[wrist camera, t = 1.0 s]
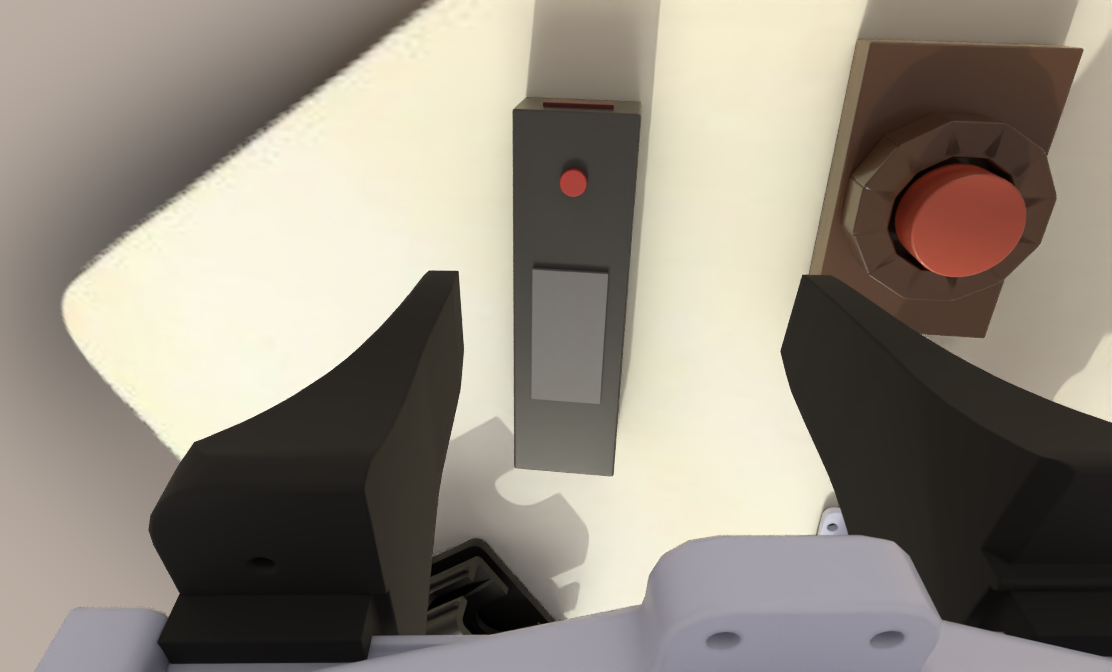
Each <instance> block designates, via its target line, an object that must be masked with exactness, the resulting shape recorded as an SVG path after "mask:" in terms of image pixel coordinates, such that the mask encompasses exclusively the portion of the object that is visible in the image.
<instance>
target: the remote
mask: <svg viewBox="0 0 1112 672" xmlns="http://www.w3.org/2000/svg"><path fill="white" fill-rule="evenodd" d="M640 125H641V103H640V102H634V101H608V100H583V99H558V98H533V97H527V98H525V99H524V100H523V101H522V102H521V103H520V104H518V105H517V106H516V107H515V108H514V109H513V302H514V467H515V468H520V469H531V470H543V471H555V472H566V473H578V474H590V475H601V476H613V475H614V462H615V449H616V436H617V423H618V410H619V397H620V384H621V371H622V358H623V345H624V332H625V319H626V306H627V293H628V281H629V268H630V255H631V242H632V229H633V216H634V203H635V190H636V177H637V164H638V151H639V138H640Z"/></svg>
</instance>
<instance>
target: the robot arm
mask: <svg viewBox="0 0 1112 672" xmlns="http://www.w3.org/2000/svg"><path fill="white" fill-rule="evenodd" d="M780 352H781V356H782V360H783V364H784V368H785V372H786V375H787V379H788V382H789V386H790V389H791V392H792V394H793V397H794V399H795V402H796V404H797V406H798V408H799V411H800V413H801V415H802V418H803V420H804V422H805V424H806V427H807V429H808V431H809V433H810V435H811V438H812V440H813V442H814V444H815V446H816V449H817V451H818V453H819V455H820V458H821V460H822V462H823V464H824V466H825V469H826V471H827V473H828V476H829V478H830V481H831V483H832V486H833V488H834V491H835V494H836V497H837V500H838V503H839V507H840V508H837V507H832V508H828V509H826V510H825V511H824V512H823V514H822V518H821V522H820V526H819V530H818V533H817V535H718V536H712V537H706V538H699V539H693V540H689V541H687V542H685V543H683V544H681V545H679V546H677V547H676V548H674V549H672V550H670V551H668V552H666V553H665V554H664V555H662V556H661V558H660V559H659V561H658V562H657V564H656V565H655V567H654V568H653V570H652V572H651V573H650V575H649V578H648V583H647V589H646V594H645V597H644V600H643V602H642V604H640V605H635V606H630V607H625V608H621V609H616V610H611V611H606V612H601V613H596V614H591V615H586V616H581V617H576V618H571V619H566V620H561V621H556V622H551V623H546V624H541V625H536V626H532V627H527V628H522V629H517V630H512V631H507V632H502V633H497V634H492V635H426V622H427V610H428V599H429V587H430V575H431V565H432V554H433V544H434V534H435V524H436V515H437V505H438V496H439V489H440V483H441V477H442V472H443V467H444V462H445V458H446V453H447V449H448V444H449V440H450V435H451V431H452V426H453V422H454V417H455V413H456V408H457V403H458V399H459V394H460V389H461V378H462V367H463V355H464V343H463V329H462V314H461V300H460V286H459V272H458V271H428V272H427V273H426V274H425V275H424V276H423V277H422V278H421V280H420V281H419V282H418V284H417V285H416V286H415V287H414V289H413V290H412V291H411V292H410V294H409V295H408V296H407V297H406V298H405V300H404V301H403V302H402V303H401V304H400V306H399V307H398V308H397V309H396V310H395V311H394V312H393V313H392V315H391V316H390V317H389V318H388V319H387V320H386V321H385V322H384V323H383V324H382V326H381V327H380V328H379V329H378V330H377V331H376V332H375V333H374V334H372V335H371V336H370V337H369V338H368V339H367V340H366V341H365V342H364V343H363V344H362V345H361V346H360V347H359V348H358V349H357V350H356V351H355V352H354V353H352V354H351V355H350V356H349V357H348V358H347V359H345V360H344V361H343V362H342V363H340V364H339V365H338V366H336V367H335V368H334V369H333V370H331V371H330V372H328V373H327V374H326V375H324V376H323V377H321V378H320V379H318V380H317V381H315V382H313V383H312V384H310V385H309V386H307V387H306V388H304V389H303V390H301V391H300V392H298V393H297V394H295V395H293V396H292V397H290V398H288V399H287V400H285V401H283V402H281V403H279V404H278V405H276V406H274V407H272V408H270V409H268V410H266V411H264V412H262V413H260V414H258V415H256V416H255V417H252V418H250V419H248V420H246V421H244V422H242V423H240V424H237V425H235V426H233V427H230V428H228V429H225V430H223V431H221V432H218V433H216V434H214V435H211V436H209V437H207V438H204V439H201V440H199V441H196V442H194V443H193V445H192V446H191V448H190V449H189V451H188V452H187V454H186V455H185V456H184V458H183V459H182V461H181V462H180V464H179V465H178V467H177V469H176V470H175V472H174V474H173V476H172V477H171V479H170V481H169V483H168V485H167V487H166V488H165V490H164V492H163V494H162V496H161V497H160V499H159V501H158V503H157V505H156V506H155V508H154V510H153V512H152V514H151V516H150V524H149V533H150V536H151V539H152V542H153V545H154V547H155V549H156V551H157V552H158V554H159V556H160V558H161V560H162V561H163V563H164V565H165V567H166V569H167V571H168V573H169V575H170V576H171V578H172V580H173V582H174V584H175V586H176V588H177V589H178V591H179V593H180V594H179V596H178V599H177V601H176V603H175V605H174V607H173V609H172V611H171V614H170V616H168V615H167V614H166V613H164V612H162V611H159V610H157V609H154V608H147V607H78V608H75V609H72V610H71V611H70V612H69V613H68V615H67V617H66V618H65V620H64V622H63V624H62V625H61V627H60V629H59V630H58V632H57V634H56V635H55V637H54V639H53V640H52V642H51V644H50V646H49V647H48V649H47V651H46V652H45V654H44V656H43V658H42V659H41V661H40V662H39V664H38V666H37V668H36V669H35V671H34V672H1112V423H1111V422H1108V421H1105V420H1102V419H1099V418H1096V417H1094V416H1091V415H1088V414H1085V413H1082V412H1079V411H1076V410H1074V409H1071V408H1068V407H1066V406H1063V405H1060V404H1058V403H1055V402H1053V401H1050V400H1048V399H1045V398H1043V397H1041V396H1038V395H1036V394H1034V393H1031V392H1029V391H1026V390H1024V389H1022V388H1019V387H1017V386H1015V385H1013V384H1011V383H1008V382H1006V381H1004V380H1002V379H1000V378H998V377H996V376H994V375H992V374H990V373H988V372H986V371H984V370H982V369H980V368H978V367H976V366H974V365H972V364H970V363H968V362H966V361H965V360H963V359H961V358H959V357H957V356H956V355H954V354H952V353H950V352H949V351H947V350H945V349H944V348H942V347H940V346H939V345H937V344H936V343H934V342H932V341H931V340H929V339H927V338H926V337H924V336H923V335H921V334H919V333H918V332H916V331H915V330H913V329H912V328H910V327H909V326H907V325H906V324H904V323H903V322H901V321H900V320H898V319H897V318H895V317H894V316H892V315H891V314H889V313H888V312H887V311H885V310H884V309H882V308H881V307H879V306H878V305H876V304H875V303H874V302H872V301H871V300H869V299H868V298H866V297H865V296H863V295H862V294H861V293H859V292H858V291H856V290H855V289H853V288H852V287H850V286H849V285H847V284H846V283H844V282H842V281H841V280H839V279H837V278H836V277H834V276H832V275H802V278H801V281H800V285H799V288H798V292H797V295H796V299H795V302H794V306H793V309H792V313H791V316H790V320H789V323H788V327H787V330H786V334H785V337H784V341H783V344H782V348H781V351H780ZM832 523H834V525H833V526H828V525H829V524H832Z"/></svg>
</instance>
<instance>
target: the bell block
mask: <svg viewBox="0 0 1112 672" xmlns="http://www.w3.org/2000/svg"><path fill="white" fill-rule="evenodd" d="M1082 53H1083V49H1082V48H1077V47H1069V46H1061V45H1041V44H1009V43H977V42H945V41H913V40H881V39H858V40H857V43H856V48H855V53H854V58H853V63H852V67H851V72H850V77H849V82H848V87H847V92H846V97H845V102H844V107H843V111H842V116H841V121H840V126H839V131H838V136H837V141H836V146H835V150H834V155H833V160H832V165H831V170H830V175H829V180H828V185H827V190H826V194H825V199H824V204H823V209H822V214H821V219H820V224H819V229H818V233H817V238H816V243H815V248H814V253H813V258H812V263H811V268H810V273H809V275H832V276H834V277H836V278H837V279H839V280H841V281H842V282H844V283H846V284H847V285H849V286H850V287H852V288H853V289H855V290H856V291H858V292H859V293H861V294H862V295H863V296H865V297H866V298H868V299H869V300H871V301H872V302H874V303H875V304H876V305H878V306H879V307H881V308H882V309H884V310H885V311H887V312H888V313H889V314H891V315H892V316H894V317H895V318H897V319H898V320H900V321H901V322H903V323H904V324H906V325H907V326H909V327H910V328H912V329H913V330H915V331H916V332H918V333H919V334H929V335H945V336H960V337H975V338H984V337H985V335H986V332H987V329H988V326H989V323H990V320H991V317H992V314H993V311H994V309H995V306H996V303H997V300H998V297H999V294H1000V291H1001V288H1002V285H1003V282H1004V279H1005V278H1006V277H1007V276H1008V275H1009V274H1010V273H1011V272H1012V271H1013V270H1014V269H1015V268H1017V267H1018V266H1019V265H1020V264H1021V263H1022V262H1023V261H1024V260H1025V259H1026V258H1027V257H1028V256H1029V255H1030V254H1031V253H1032V252H1033V251H1034V250H1035V249H1036V248H1037V247H1038V246H1039V245H1040V243H1041V241H1042V238H1043V235H1044V232H1045V230H1046V227H1047V224H1048V221H1049V219H1050V216H1051V213H1052V210H1053V207H1054V205H1055V202H1056V199H1057V197H1056V191H1055V187H1054V184H1053V180H1052V176H1051V172H1050V168H1049V164H1048V160H1047V155H1048V152H1049V149H1050V146H1051V143H1052V140H1053V137H1054V134H1055V131H1056V129H1057V126H1058V123H1059V120H1060V117H1061V114H1062V111H1063V108H1064V105H1065V102H1066V100H1067V97H1068V94H1069V91H1070V88H1071V85H1072V82H1073V79H1074V76H1075V73H1076V70H1077V68H1078V65H1079V62H1080V59H1081V56H1082ZM955 163H965V164H972V165H976V166H978V167H981V168H983V169H985V170H987V171H989V172H991V173H993V174H995V175H997V176H999V177H1001V178H1003V179H1005V180H1007V181H1008V182H1010V183H1011V184H1012V185H1014V186H1015V187H1016V188H1017V190H1018V191H1019V192H1020V194H1021V195H1022V197H1023V200H1024V203H1025V207H1026V224H1025V228H1024V231H1023V233H1022V236H1021V238H1020V240H1019V242H1018V243H1017V245H1016V246H1015V247H1014V249H1013V250H1012V251H1011V252H1010V253H1009V254H1008V256H1006V257H1005V258H1004V259H1003V260H1002V261H1001V262H999V263H998V264H996V265H995V266H993V267H991V268H990V269H988V270H985V271H983V272H981V273H978V274H975V275H970V276H964V277H949V276H943V275H939V274H936V273H934V272H932V271H930V270H928V269H927V268H926V267H924V266H923V265H922V264H921V263H920V262H919V261H918V260H917V259H916V258H915V257H913V256H912V255H911V254H910V253H909V252H908V251H907V250H906V249H905V248H904V247H903V245H902V244H901V242H900V241H899V239H898V236H897V233H896V229H895V216H896V211H897V208H898V205H899V202H900V200H901V198H902V197H903V195H904V193H905V192H906V191H907V189H908V188H909V187H910V186H911V185H912V184H913V183H914V182H915V181H916V180H917V179H919V178H920V177H921V176H923V175H924V174H926V173H927V172H929V171H931V170H933V169H936V168H938V167H941V166H944V165H948V164H955Z"/></svg>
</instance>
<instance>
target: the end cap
mask: <svg viewBox="0 0 1112 672" xmlns="http://www.w3.org/2000/svg"><path fill="white" fill-rule="evenodd" d="M551 622H556V621H555V620H554V619H553V618H552V617H551V616H550V615H549V614H548V612H547V611H546V610H545V609H544V608H543V607H542V606H541V605H540V603H539V602H538V601H537V600H536V599H535V598H534V597H533V595H532V594H531V593H530V592H529V591H528V590H527V589H526V588H525V586H524V585H523V584H522V583H521V582H520V581H519V580H518V579H517V577H516V576H515V575H514V574H513V573H512V572H511V571H510V569H509V568H508V567H507V566H506V565H505V564H504V563H503V562H502V560H501V559H500V558H499V557H498V556H497V555H496V554H495V553H494V551H493V550H492V549H491V548H490V547H489V546H488V545H487V544H486V542H484V541H483V540H480V539H472V540H470V541H468V542H465V543H463V544H461V545H459V546H457V547H455V548H453V549H450V550H448V551H446V552H444V553H442V554H440V555H438V556H435V557H433V558H432V565H431V575H430V587H429V599H428V610H427V622H426V635H492V634H497V633H502V632H507V631H512V630H517V629H522V628H527V627H532V626H536V625H541V624H546V623H551Z"/></svg>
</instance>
